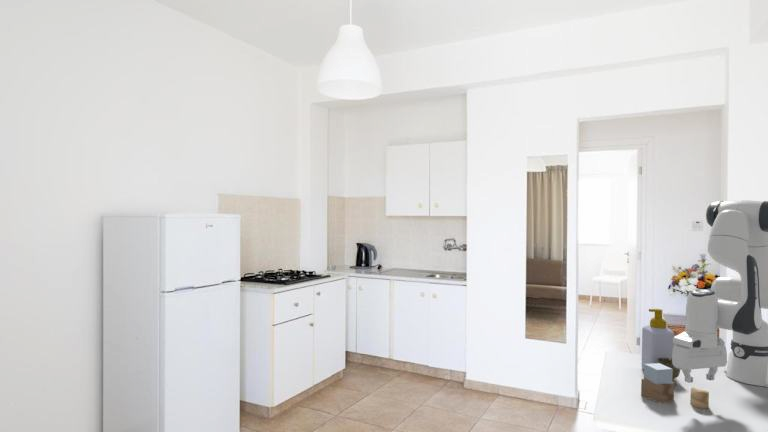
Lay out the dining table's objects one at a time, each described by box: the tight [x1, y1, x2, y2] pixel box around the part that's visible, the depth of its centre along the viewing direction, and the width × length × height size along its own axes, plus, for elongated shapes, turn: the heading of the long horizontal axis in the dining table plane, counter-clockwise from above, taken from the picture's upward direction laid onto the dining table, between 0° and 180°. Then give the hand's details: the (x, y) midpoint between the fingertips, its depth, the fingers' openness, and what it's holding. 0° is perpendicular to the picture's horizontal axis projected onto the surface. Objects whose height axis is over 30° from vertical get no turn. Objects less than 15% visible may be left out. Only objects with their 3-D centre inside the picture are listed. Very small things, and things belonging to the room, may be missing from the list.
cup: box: [658, 357, 681, 383], centre depth 176 cm, size 8×7×8 cm
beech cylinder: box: [689, 387, 710, 410], centre depth 154 cm, size 5×5×5 cm
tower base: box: [640, 377, 675, 404], centre depth 160 cm, size 7×7×6 cm
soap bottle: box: [641, 308, 676, 370], centre depth 185 cm, size 9×9×25 cm
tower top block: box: [643, 363, 673, 385], centre depth 160 cm, size 6×6×5 cm
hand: (699, 380), depth 153 cm, fingers open, 8 cm apart
